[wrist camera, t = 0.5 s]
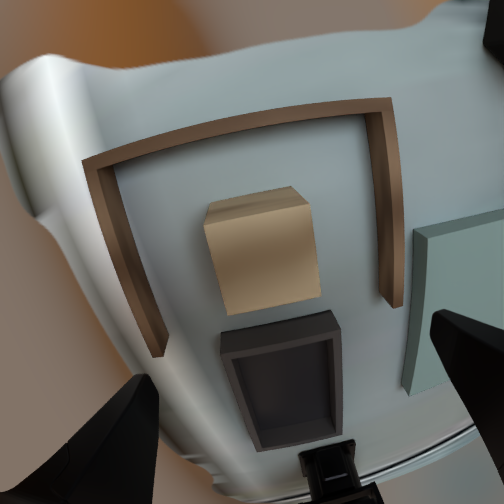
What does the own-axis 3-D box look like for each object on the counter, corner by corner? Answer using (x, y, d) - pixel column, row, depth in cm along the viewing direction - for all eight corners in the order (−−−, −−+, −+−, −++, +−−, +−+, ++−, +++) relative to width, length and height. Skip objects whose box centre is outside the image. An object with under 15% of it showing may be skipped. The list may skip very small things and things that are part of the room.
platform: (488, 345, 26) (497, 355, 24) (401, 383, 26) (409, 396, 24) (512, 206, 20) (527, 212, 18) (413, 229, 20) (427, 238, 18)
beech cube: (302, 259, 21) (321, 296, 16) (228, 274, 21) (227, 315, 16) (290, 185, 19) (309, 203, 14) (210, 202, 19) (203, 225, 14)
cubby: (388, 289, 22) (402, 305, 20) (159, 336, 22) (153, 357, 20) (373, 100, 17) (391, 97, 15) (98, 156, 17) (81, 160, 15)
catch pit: (336, 415, 27) (342, 434, 25) (255, 432, 27) (256, 452, 25) (330, 309, 22) (340, 329, 20) (221, 332, 22) (220, 354, 20)
